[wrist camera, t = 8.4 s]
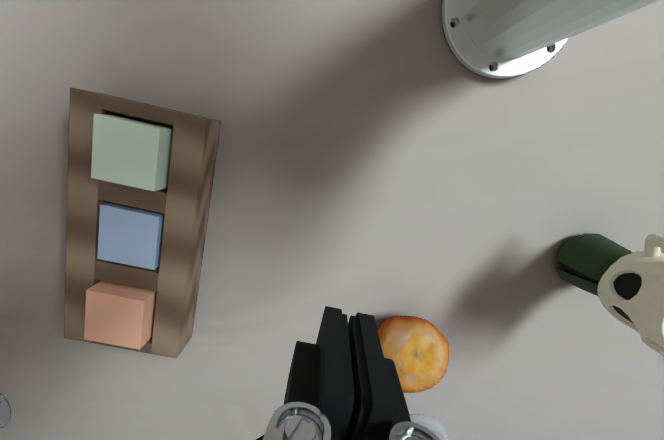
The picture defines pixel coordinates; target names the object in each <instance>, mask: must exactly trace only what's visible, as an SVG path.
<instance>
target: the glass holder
mask: <svg viewBox="0 0 664 440" xmlns="http://www.w3.org/2000/svg"><path fill="white" fill-rule="evenodd" d="M410 419H411V422H414V423H417V424H420V425H422V426H424V427H426V428H427V429H429V430H430V431H432V432H433V433H434V434H435V435H436V436H437V437H438V438H439V439H440V440H448V435H447V432H446V429H445V427H444V426H443V425H442V424H441V423H440V422H439V421H438V420H437V419H435V418H433V417H431V416H427V415H422V414H412V415H410Z"/></svg>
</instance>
